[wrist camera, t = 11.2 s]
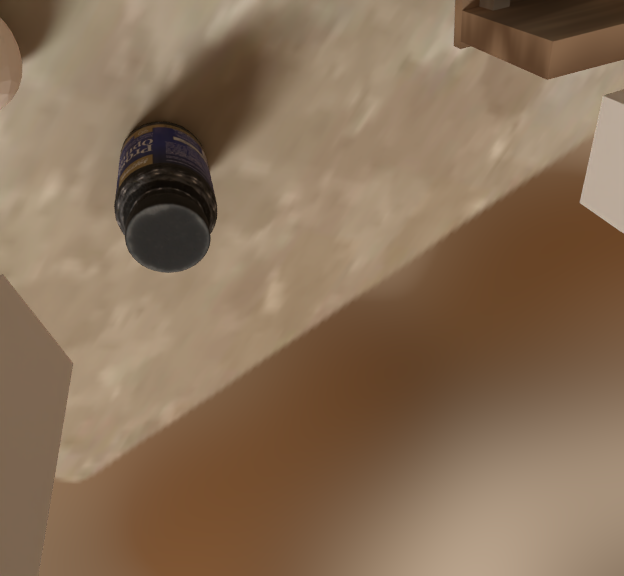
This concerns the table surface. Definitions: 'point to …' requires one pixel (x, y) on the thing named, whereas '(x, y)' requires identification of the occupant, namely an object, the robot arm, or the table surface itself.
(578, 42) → the wooden desk organizer
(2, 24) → the egg
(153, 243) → the pill bottle
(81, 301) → the table surface
